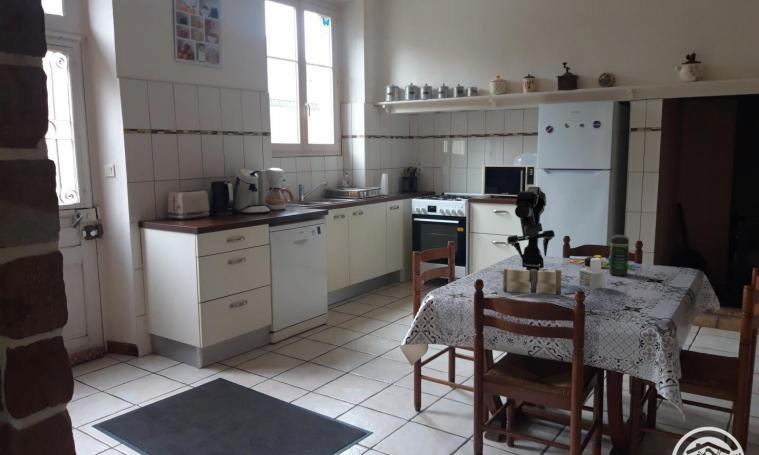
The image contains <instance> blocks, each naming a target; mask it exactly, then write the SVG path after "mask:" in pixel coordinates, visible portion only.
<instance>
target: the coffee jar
mask: <svg viewBox="0 0 759 455" xmlns="http://www.w3.org/2000/svg"><path fill="white" fill-rule="evenodd" d="M629 244H630V239H629V237H628V236H626V235H625V234H614V235H612V236H611V237H610V247H609V248H610V250H609V257H610V269H609V275H612V276H617V277H622V276H627V275H628V271H629V269H628V263H629V252H630V251H629V248H630V247H629Z"/></svg>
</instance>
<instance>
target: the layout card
mask: <svg viewBox="0 0 759 455" xmlns="http://www.w3.org/2000/svg"><path fill="white" fill-rule="evenodd" d="M493 290H494V291H495V293H497V294H498V296H499V297H500V298H501V297H506V298H530V297H531V298H532V297H533V298H534V297H537V298H538V297H566V296H567V295H566V294H564V293H563V291H561V294H545V293H531V292H529V293H526V292H508V291H503V287H501V288H500V287H499V288H493Z"/></svg>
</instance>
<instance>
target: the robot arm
mask: <svg viewBox="0 0 759 455" xmlns="http://www.w3.org/2000/svg"><path fill="white" fill-rule="evenodd" d="M546 195H547V194H546V193H545V192H544V191H542V189H541V187H539V186H529V187H528V189H527V190H526V191H525V190H524V191H523V190H521V191H519V192H518V193H517V196H516V200H515V206H516V207H515V209H514V214H515V216H516V217H517V218H519V222H520V226H521V232H522V235H521V236H518V235H517V234H515V235H510V236H507V239H506V242H507V245H510V246H511V247H514V249H515V250H516V251H517V253H518V255H519V256H520V258H521V264H522V265H521V266H522V268H526V269H525V270H530V283H531V269H536V270H537V283H538V271H540V269H544V267H545V261H544V257H547V252H548V246H549V242H550V241H551V240H552V239H553V238H554V237H555V235H556V234H555V231H554V230H553V229H549V230H545V231H544V230H543V224H542V223H541V216H542V214H543V213H544V211H545V208H546V206H547V196H546ZM540 232H542V233H540ZM542 238H543V240H542V245H543V246H542V247H543V255H544V257H543V255H542V252H541V250H540V248H539V239H542ZM522 241H528V244H527V245H526V246H525V247H524V249H523V252H522V249H521V244H520V242H522Z"/></svg>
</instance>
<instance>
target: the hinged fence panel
mask: <svg viewBox="0 0 759 455" xmlns="http://www.w3.org/2000/svg"><path fill="white" fill-rule="evenodd" d="M502 271H503V272H502V273H503V274H502V276H503V279H502V286H503V287H502V288H503V291H508V292H526V293H529V292H531V293H537V287H538V282H537V270H536V269H531V282H530V270H526V269H510V268H503V270H502Z"/></svg>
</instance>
